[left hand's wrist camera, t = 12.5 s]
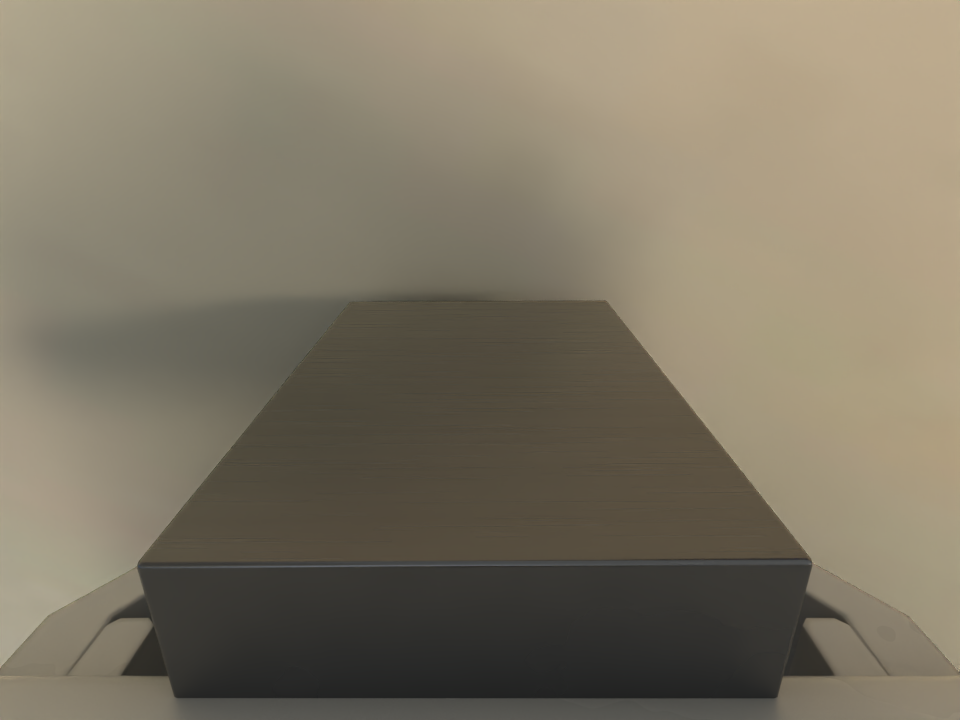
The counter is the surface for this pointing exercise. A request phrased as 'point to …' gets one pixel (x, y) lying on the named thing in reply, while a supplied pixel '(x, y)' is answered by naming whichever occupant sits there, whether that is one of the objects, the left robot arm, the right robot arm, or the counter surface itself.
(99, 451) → the counter surface
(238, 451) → the bar
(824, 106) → the counter surface
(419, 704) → the left robot arm
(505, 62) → the counter surface
